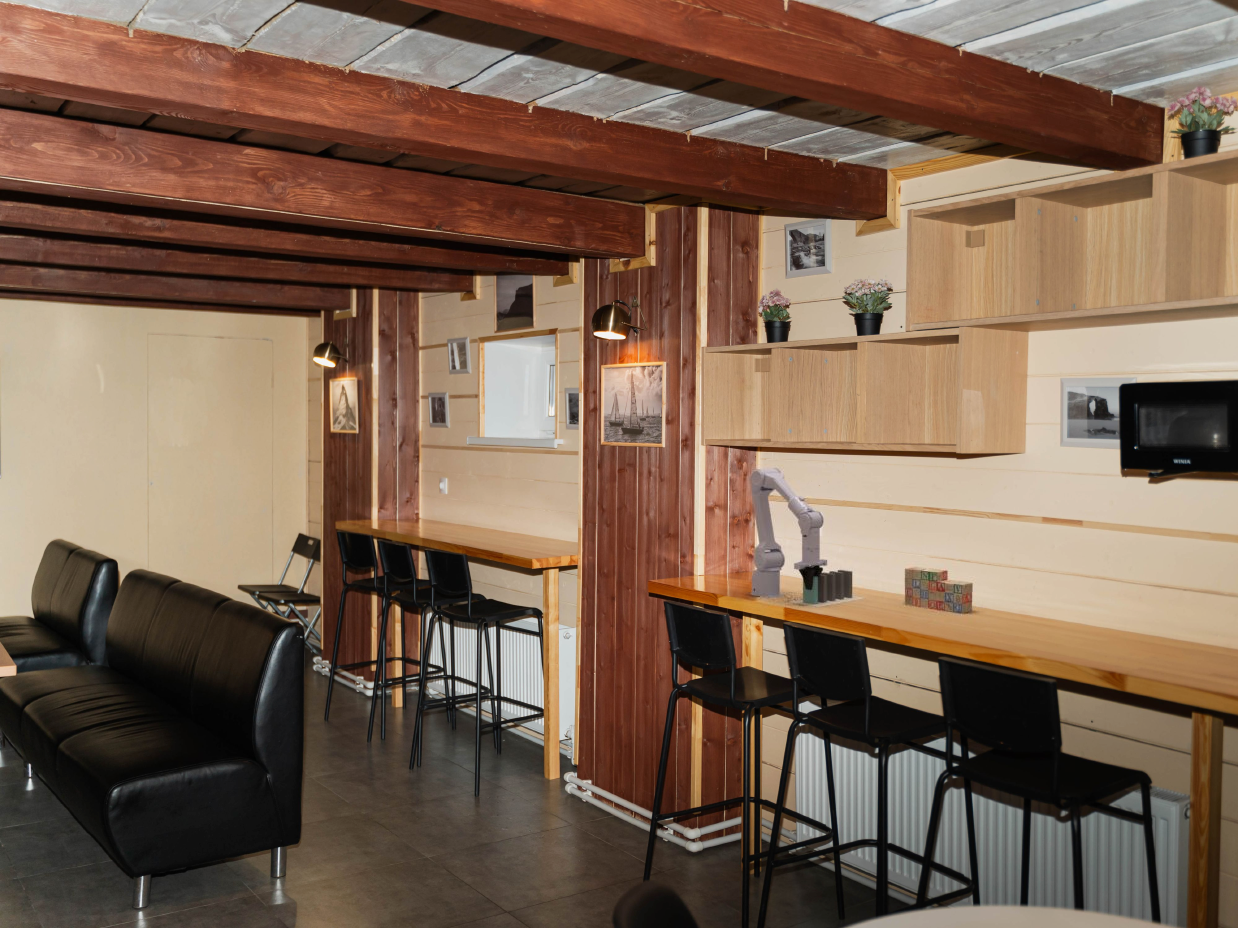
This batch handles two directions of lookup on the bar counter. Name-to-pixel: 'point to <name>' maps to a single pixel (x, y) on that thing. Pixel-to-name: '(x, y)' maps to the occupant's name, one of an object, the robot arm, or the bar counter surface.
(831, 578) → the domino
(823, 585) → the domino
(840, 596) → the domino
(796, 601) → the mat
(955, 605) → the stack of blocks
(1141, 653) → the bar counter surface
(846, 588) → the domino
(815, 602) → the domino
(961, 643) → the bar counter surface
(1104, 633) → the bar counter surface
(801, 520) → the robot arm
